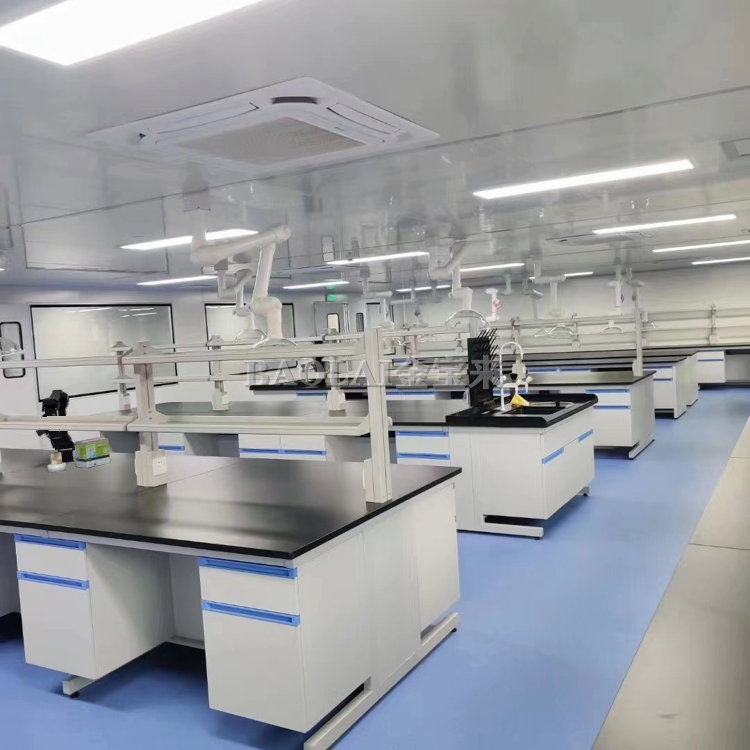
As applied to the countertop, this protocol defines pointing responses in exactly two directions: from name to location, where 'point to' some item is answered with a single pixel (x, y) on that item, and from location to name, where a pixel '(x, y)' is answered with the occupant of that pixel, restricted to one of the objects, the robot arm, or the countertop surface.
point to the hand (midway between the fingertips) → (54, 449)
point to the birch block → (55, 458)
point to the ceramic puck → (57, 467)
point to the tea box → (92, 452)
